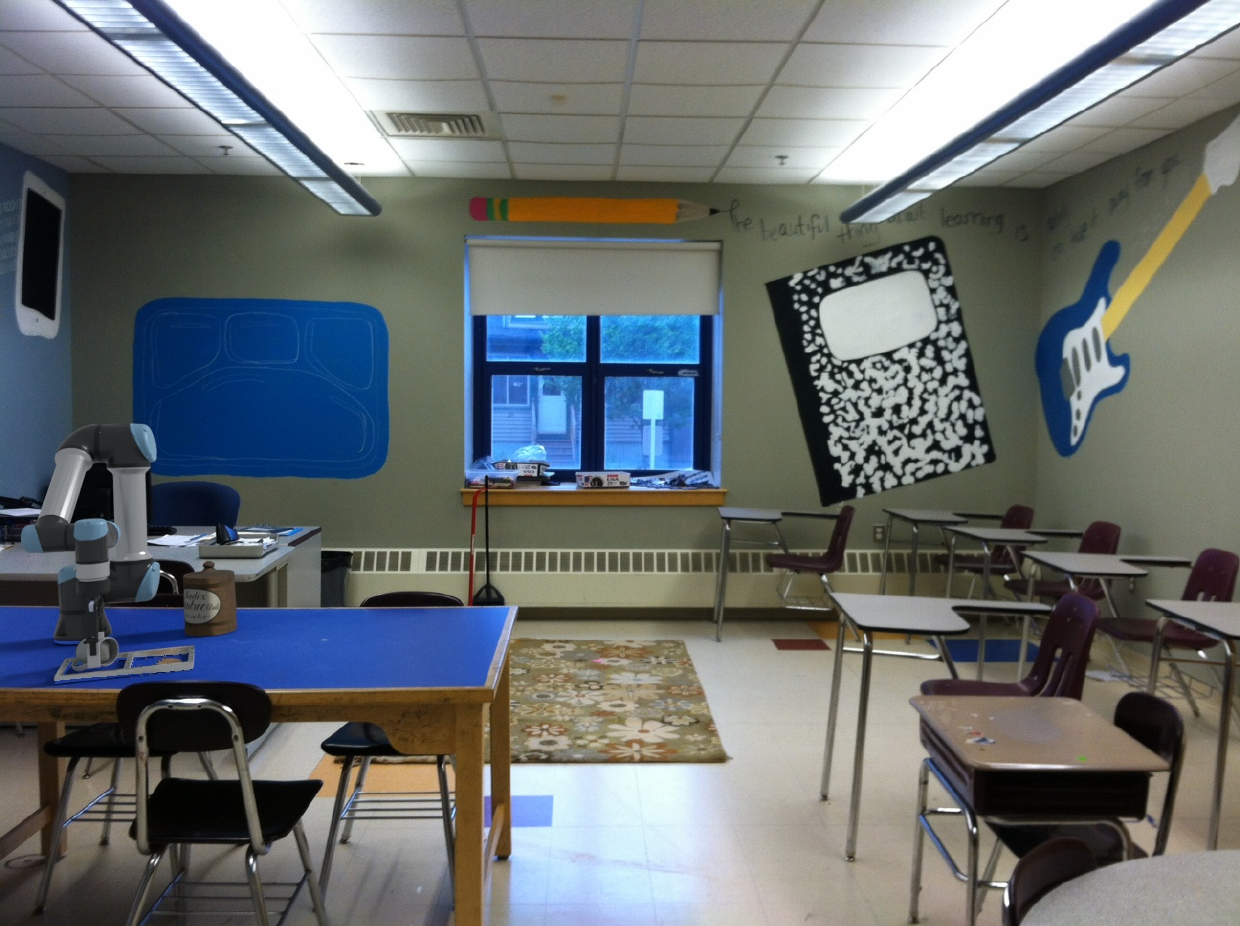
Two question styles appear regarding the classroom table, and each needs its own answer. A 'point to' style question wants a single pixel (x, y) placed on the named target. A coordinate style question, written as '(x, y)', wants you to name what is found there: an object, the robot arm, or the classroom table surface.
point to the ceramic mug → (107, 653)
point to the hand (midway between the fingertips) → (96, 661)
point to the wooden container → (209, 602)
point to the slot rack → (162, 666)
